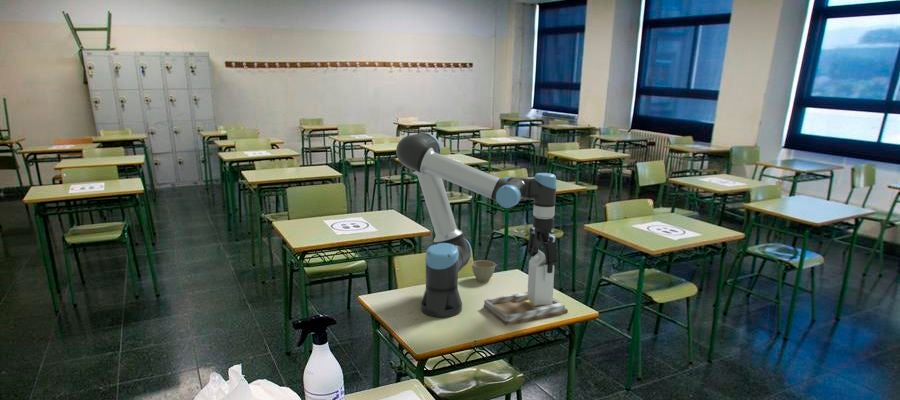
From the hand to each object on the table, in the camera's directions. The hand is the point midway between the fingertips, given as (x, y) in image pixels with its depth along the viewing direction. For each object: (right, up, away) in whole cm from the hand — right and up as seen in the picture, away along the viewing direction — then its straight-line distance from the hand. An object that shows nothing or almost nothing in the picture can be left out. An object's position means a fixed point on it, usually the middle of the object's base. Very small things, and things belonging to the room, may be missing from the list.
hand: (540, 276), depth 190 cm
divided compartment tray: (-6, -12, 0) cm, 13 cm away
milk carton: (0, -10, +2) cm, 10 cm away
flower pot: (-19, -6, +30) cm, 36 cm away
